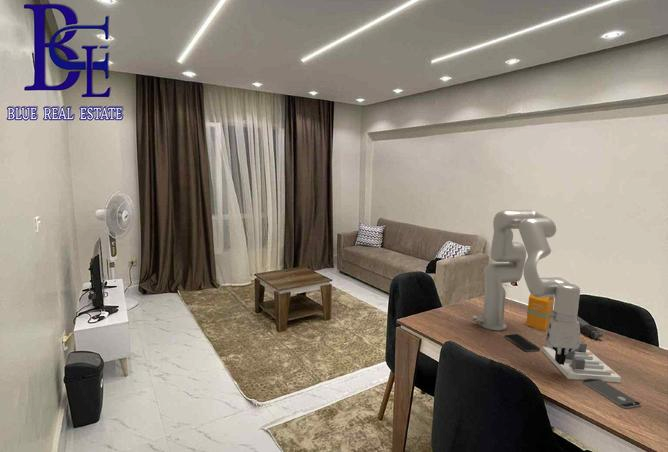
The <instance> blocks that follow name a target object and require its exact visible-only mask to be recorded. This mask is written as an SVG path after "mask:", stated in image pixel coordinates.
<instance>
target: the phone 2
mask: <svg viewBox="0 0 668 452" xmlns="http://www.w3.org/2000/svg"><path fill="white" fill-rule="evenodd" d="M581 381H582V382H581V383H583V385H585V386H587V387H589V388H590V389H592V390H593V391H595V392H596V393H598V394H600V396H603V397H604V398H605V399H607V400H608V401H610V402H612V403H614V404H615V405H616V406H618V407H619V408H622V409H625V410H627V409H628V410H629V409H633V408H640V407H641V406H642V404H641V403H640V402H639V401H637V400H636V399H634V398H633V397H631V396H629V395H627V394H626V393H624V392H622V391H620V390H619V389H617V388H616V387H614V386H612V385H611V384H608V383H607V382H605V381H602V380H598V379H586V380H581Z"/></svg>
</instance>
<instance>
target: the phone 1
mask: <svg viewBox="0 0 668 452" xmlns="http://www.w3.org/2000/svg"><path fill="white" fill-rule="evenodd" d="M503 338H504V339H506V340H507V341H509V342H510V343H511V344H513V345H514V346H515V347H517V348H519V349H520V350H521V351H523V352H525V353H532V352H540V351H541V347H539V346H537V345H536V344H534V343H533V342H531V341H529V340H528V339H526V338H525V337H524V336H522V335H521V334H518V333H513V334H504V336H503Z"/></svg>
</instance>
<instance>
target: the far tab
mask: <svg viewBox="0 0 668 452" xmlns="http://www.w3.org/2000/svg"><path fill="white" fill-rule="evenodd" d="M587 346H588V345H587V343H586V342H585V341H581V340H580V346H579V348H578V349H576V350H574V351H575V352H586V350H587V348H588V347H587Z"/></svg>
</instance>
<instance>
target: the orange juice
mask: <svg viewBox="0 0 668 452" xmlns="http://www.w3.org/2000/svg"><path fill="white" fill-rule="evenodd" d="M554 301H555V297H544V298H538V297H535V296H533V295H532V294H531V293H530V294H529V297H528V302H527V303H528V305H527V313H526V326H529V327H532V328H534V329H537V330H541V331H544V332H547V329H548V325H549V322H550V319H551V318H553V317H552V316H550V315H549V313H553V310H554Z"/></svg>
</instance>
